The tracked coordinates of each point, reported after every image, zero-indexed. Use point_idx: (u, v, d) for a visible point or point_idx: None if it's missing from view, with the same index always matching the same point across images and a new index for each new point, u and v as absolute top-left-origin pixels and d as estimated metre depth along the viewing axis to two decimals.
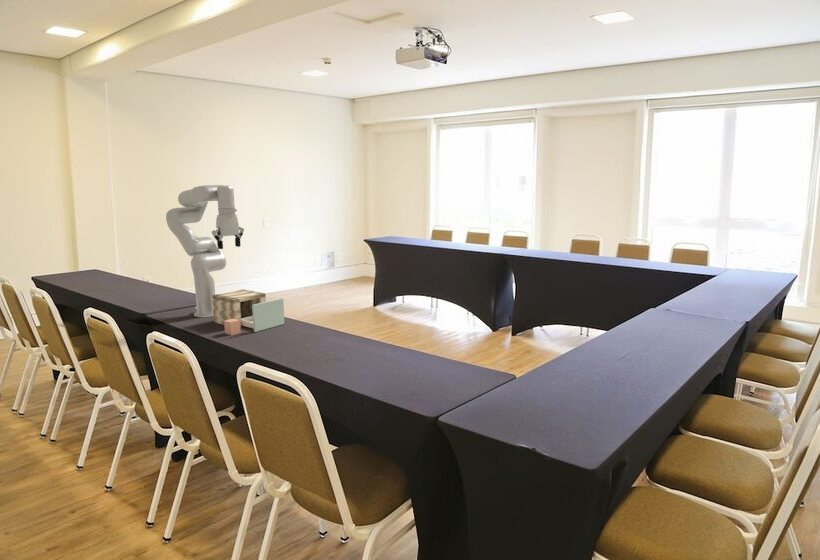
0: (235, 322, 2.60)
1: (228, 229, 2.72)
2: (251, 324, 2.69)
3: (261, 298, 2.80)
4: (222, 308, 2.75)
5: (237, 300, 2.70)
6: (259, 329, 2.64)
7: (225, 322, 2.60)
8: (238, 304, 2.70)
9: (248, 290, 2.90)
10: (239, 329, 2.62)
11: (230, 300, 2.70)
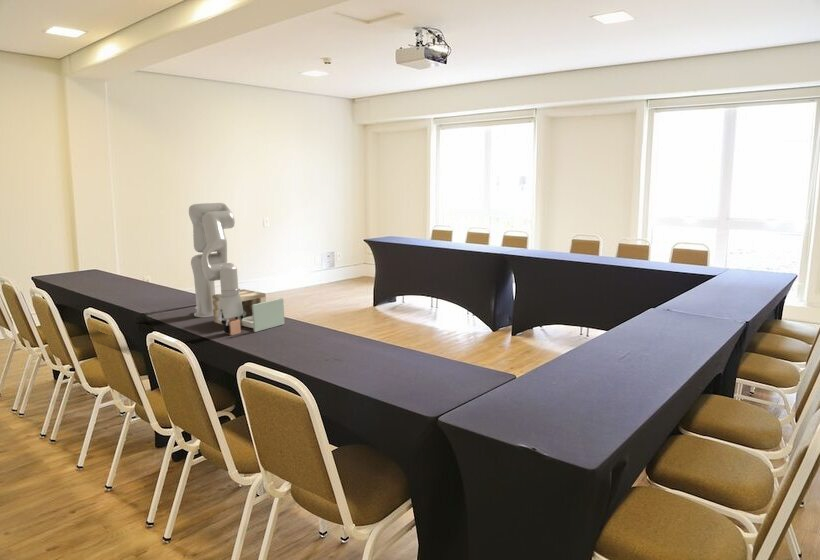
0: (235, 322, 2.60)
1: (231, 311, 2.58)
2: (251, 324, 2.69)
3: (261, 298, 2.80)
4: None
5: None
6: (259, 329, 2.64)
7: None
8: None
9: (248, 290, 2.90)
10: (239, 329, 2.62)
11: None
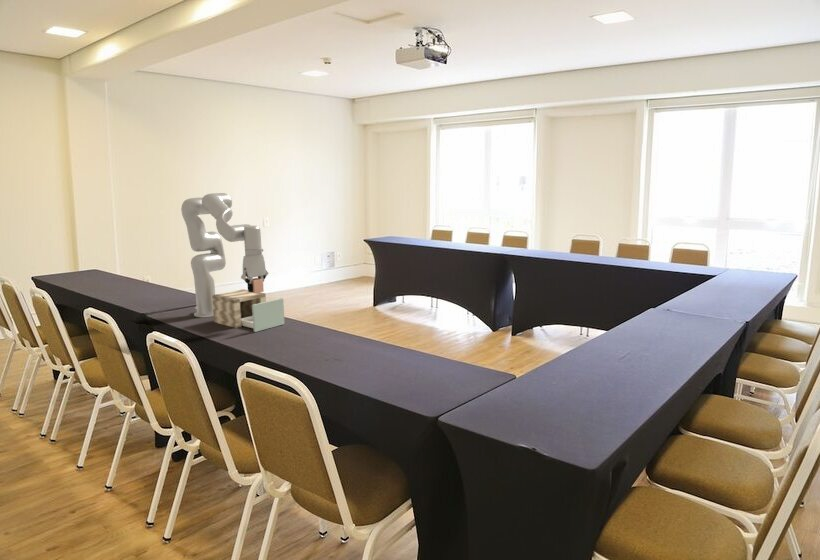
0: (258, 281, 2.68)
1: (255, 270, 2.66)
2: (251, 324, 2.69)
3: (261, 298, 2.80)
4: (222, 308, 2.75)
5: (237, 300, 2.70)
6: (259, 329, 2.64)
7: None
8: (238, 304, 2.70)
9: None
10: (262, 288, 2.70)
11: (230, 300, 2.70)
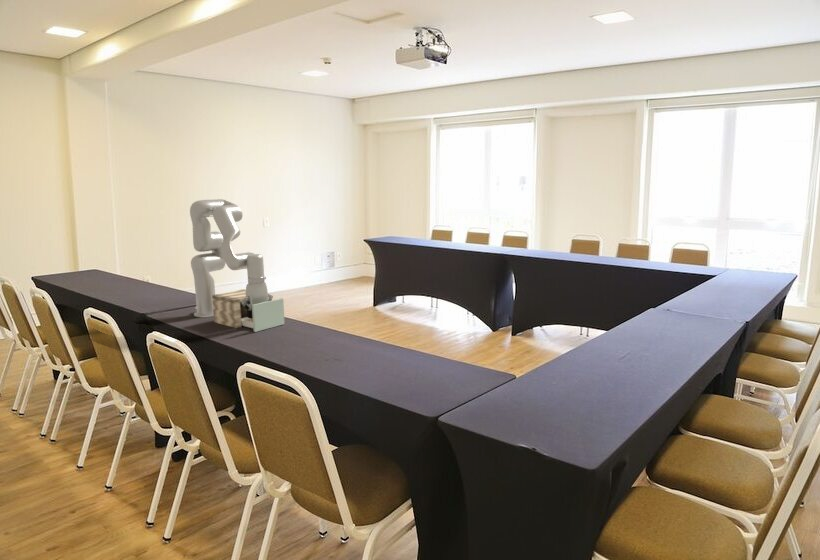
0: None
1: (258, 298, 2.69)
2: (251, 324, 2.69)
3: None
4: (222, 308, 2.75)
5: (237, 300, 2.70)
6: (259, 329, 2.64)
7: None
8: (238, 304, 2.70)
9: None
10: None
11: (230, 300, 2.70)
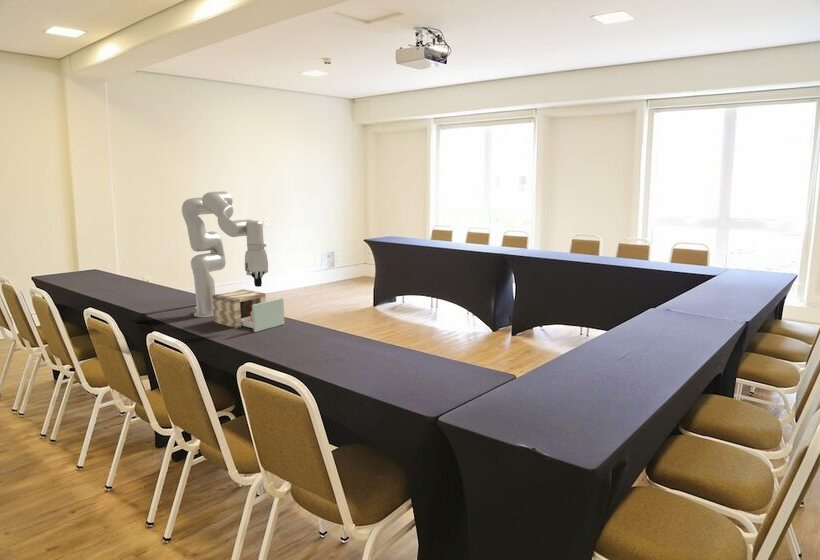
0: None
1: (256, 265, 2.65)
2: (251, 324, 2.69)
3: (261, 298, 2.80)
4: (222, 308, 2.75)
5: (237, 300, 2.70)
6: (259, 329, 2.64)
7: (251, 313, 2.72)
8: (238, 304, 2.70)
9: (248, 290, 2.90)
10: None
11: (230, 300, 2.70)
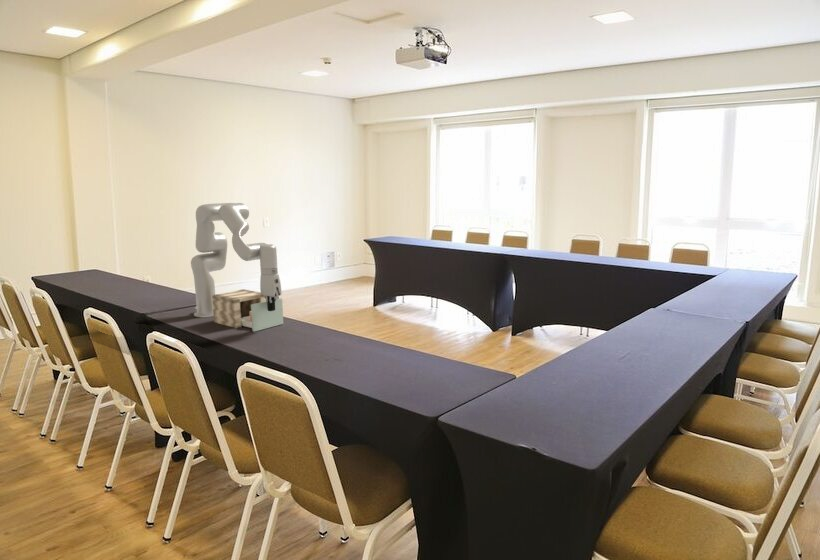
0: None
1: (264, 289, 2.64)
2: (250, 324, 2.69)
3: (261, 298, 2.80)
4: (222, 308, 2.75)
5: (237, 300, 2.70)
6: (258, 329, 2.65)
7: (250, 313, 2.72)
8: (238, 304, 2.70)
9: (248, 290, 2.90)
10: None
11: (230, 300, 2.70)
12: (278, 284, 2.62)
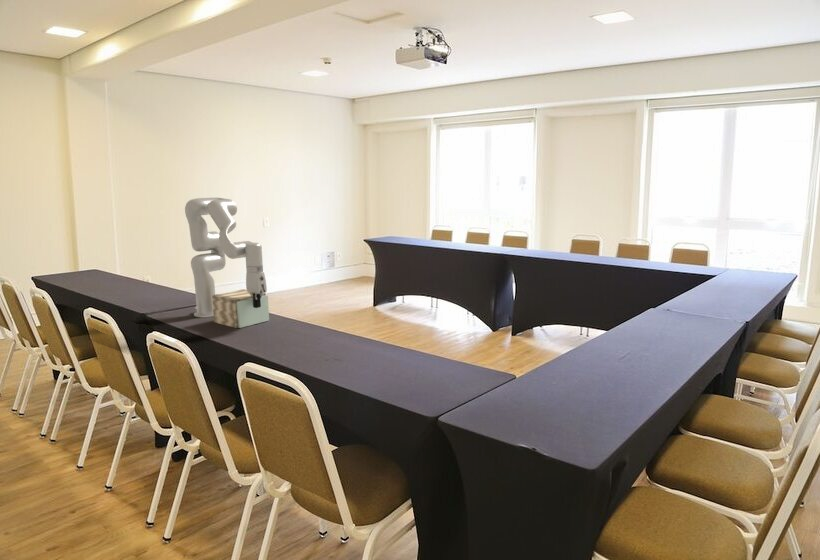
0: None
1: (249, 286, 2.70)
2: None
3: None
4: (222, 308, 2.75)
5: (237, 300, 2.70)
6: (243, 326, 2.71)
7: None
8: None
9: None
10: None
11: (230, 300, 2.70)
12: (263, 281, 2.68)
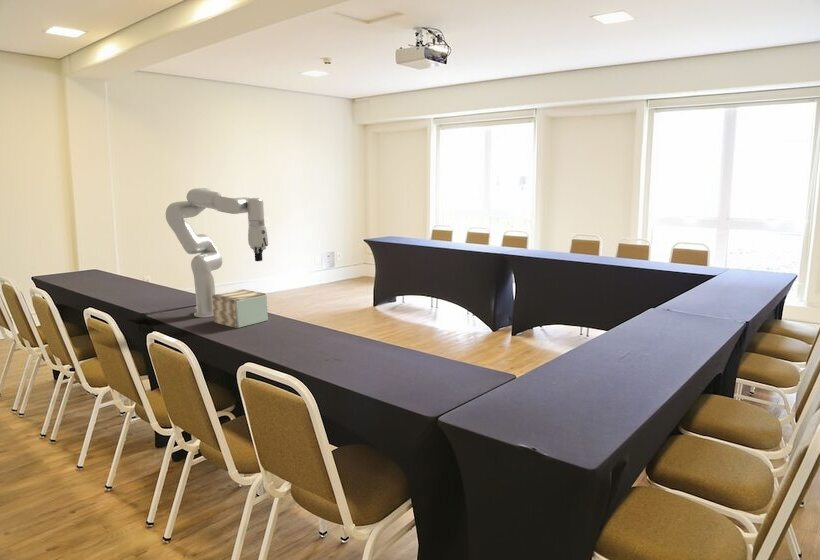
0: None
1: (251, 240, 2.80)
2: None
3: None
4: (222, 308, 2.75)
5: (237, 300, 2.70)
6: (242, 325, 2.72)
7: None
8: None
9: (248, 290, 2.90)
10: None
11: (230, 300, 2.70)
12: (265, 235, 2.78)
